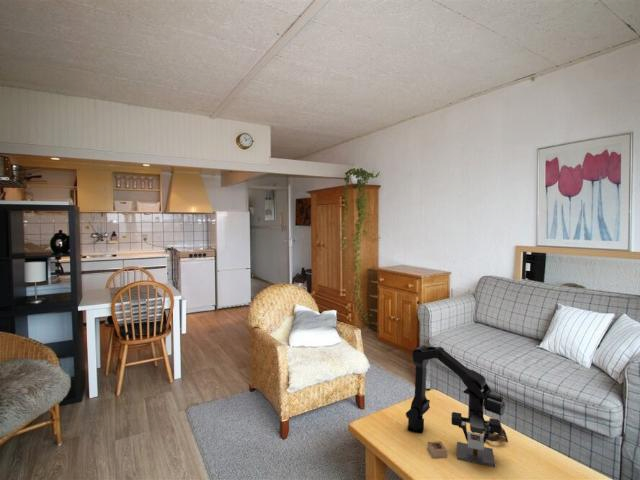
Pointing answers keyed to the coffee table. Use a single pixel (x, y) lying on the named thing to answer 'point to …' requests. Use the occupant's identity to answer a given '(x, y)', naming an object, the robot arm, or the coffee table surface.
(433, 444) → the brown hollow square block
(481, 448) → the grey square frame
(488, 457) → the keeper
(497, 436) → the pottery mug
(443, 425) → the coffee table surface
